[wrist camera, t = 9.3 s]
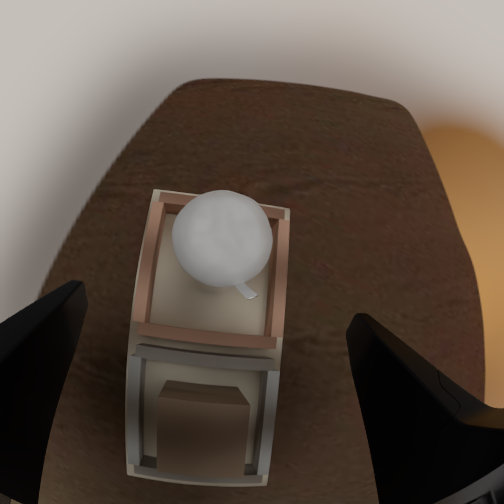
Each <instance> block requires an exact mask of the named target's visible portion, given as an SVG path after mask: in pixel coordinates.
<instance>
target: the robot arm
mask: <svg viewBox="0 0 504 504" xmlns="http://www.w3.org/2000/svg"><path fill="white" fill-rule="evenodd" d="M87 308H88V300H87V295H86V290H85V285H84V283H83V282H82V281H77V280H71V281H69V282H67V283H66V284H64V285H62V286H60V287H59V288H57V289H55V290H54V291H52V292H50V293H48V294H47V295H45V296H43V297H42V298H40V299H38V300H37V301H35V302H34V303H32V304H30V305H29V306H27V307H25V308H24V309H23V310H20V311H19V312H17V313H16V314H14V315H13V316H11V317H10V318H8V319H6V320H5V321H4V322H2V323H0V504H10V502H11V499H13V500H15V501H17V502H20V503H22V504H38V499H39V490H40V483H41V477H42V471H43V465H44V460H45V457H44V456H45V454H46V449H47V444H48V440H49V435H50V431H51V427H52V423H53V419H54V416H55V412H56V408H57V405H58V401H59V398H60V395H61V392H62V388H63V385H64V382H65V379H66V376H67V373H68V370H69V367H70V364H71V362H72V359H73V356H74V353H75V350H76V347H77V344H78V340H79V336H80V333H81V329H82V325H83V322H84V318H85V315H86V312H87ZM346 340H347V346H348V352H349V358H350V365H351V371H352V376H353V380H354V384H355V388H356V392H357V396H358V400H359V404H360V408H361V412H362V417H363V421H364V426H365V430H366V435H367V439H368V444H369V449H370V454H371V459H372V464H373V469H374V474H375V481H376V487H377V493H378V499H379V504H504V408H503V409H502V408H501V409H500V408H493V407H490V406H488V405H486V404H484V403H483V402H482V401H480V400H479V399H477V398H476V397H474V396H473V395H472V394H470V393H469V392H467V391H466V390H464V389H463V388H462V387H460V386H459V385H457V384H456V383H455V382H453V381H452V380H451V379H450V378H448V377H447V376H446V375H444V374H443V373H442V372H441V371H439V370H437V368H436V367H434V366H433V365H432V364H431V363H429V362H428V361H427V360H426V359H424V358H423V357H422V356H421V355H419V354H418V353H417V352H416V351H414V350H413V349H412V348H411V347H409V346H408V345H407V344H405V343H404V342H403V341H402V340H400V339H399V338H398V337H397V336H395V335H394V334H393V333H391V332H390V331H389V330H388V329H386V328H385V327H384V326H382V325H381V324H380V323H379V322H377V321H376V320H375V319H373V318H372V317H371V316H370V315H368V314H366V313H357V314H356V315H355V316H354V317H353V319H352V321H351V323H350V325H349V327H348V329H347V331H346Z"/></svg>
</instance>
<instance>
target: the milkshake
mask: <svg viewBox="0 0 504 504" xmlns="http://www.w3.org/2000/svg"><path fill="white" fill-rule="evenodd" d="M172 243H173V249H174V252H175V256H176V258H177V260H178V262H179V264H180V265H181V267H182V268H183V269H184V270H185V271H186V272H187V273H188V275H189V276H190V278H191V280H192V281H193V283H194V284H195V285H197V286H198V287H199V288H200V289H202V290H203V291H204V292H209V293H221V292H223V291H225V290H227V289H229V288H231V287H235V288H236V289H237V290H238V291H239V292H240V293H241V294H242V295H243V296H244V297H245V298H246V299H252V298H255V297H258V294H257V293H256V292H254V291H253V290H252V289H251V288H250V287H249V286H247V285H246V284H245V282H247V281H249V280H251V279H252V278H254V277H255V276H256V275H257V274H258V273H259V272H260V271H261V270H262V269H263V268H264V266H265V265H266V263H267V261H268V259H269V256H270V253H271V250H272V243H273V237H272V231H271V227H270V224H269V221H268V218H267V216H266V214H265V212H264V211H263V209H262V208H261V207H260V206H259V204H258V203H257V202H255V201H254V200H253V199H251V198H249V197H247V196H244V195H241V194H238V193H235V192H232V191H228V190H218V191H212V192H208V193H205V194H202V195H199V196H197V197H196V198H194V199H193V200H191V201H190V202H189V203H188V204H187V205H185V207H184V208H183V209H182V210H181V211H180V212H179V214H178V215H177V217H176V219H175V221H174V224H173V229H172Z"/></svg>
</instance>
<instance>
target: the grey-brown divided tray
mask: <svg viewBox="0 0 504 504" xmlns="http://www.w3.org/2000/svg"><path fill="white" fill-rule="evenodd" d="M197 196H199V195H197V194H189V193H181V192H173V191H164V190H156V189H154V191H153V195H152V199H151V204H150V208H149V213H148V217H147V222H146V227H145V232H144V237H143V242H142V247H141V253H140V258H139V264H138V270H137V276H136V283H135V290H134V297H133V305H132V313H131V322H130V332H129V342H128V355H127V371H126V394H125V441H126V463H127V475H131V476H136V477H141V478H146V479H152V480H158V481H165V482H172V483H181V484H191V485H204V486H231V487H243V486H267V480H268V474H269V466H270V459H271V451H272V442H273V434H274V425H275V416H276V407H277V397H278V387H279V377H280V363H281V351H282V339H283V329H284V316H285V301H286V285H287V268H288V249H289V226H290V209H288V208H282V207H276V206H270V205H264V204H259V206H260V207H261V208H262V209H263V211H264V212H265V214H266V216H267V218H268V221H269V224H270V227H271V231H272V237H273V243H272V250H271V253H270V256H269V259H268V261H267V263H266V265H265V266H264V268H263V269H262V270H261V271H260V272H259V273H258V274H257V275H256V276H255V277H254V278H252V279H251V280H249V281H247V282H245V284H246V285H247V286H249V287H250V288H251V289H252V290H253V291H254V292H256V293H257V294H258V297H255V298H252V299H246V298H245V297H244V296H243V295H242V294H241V293H240V292H239V291H238V290H237V289H236V288H235V287H231V288H229V289H227V290H225V291H223V292H221V293H209V292H204V291H203V290H202V289H200V288H199V287H198V286H197V285H195V284H194V283H193V281H192V280H191V278H190V276H189V275H188V273H187V272H186V271H185V270H184V269H183V268H182V267H181V265H180V264H179V262H178V260H177V258H176V256H175V252H174V249H173V243H172V229H173V224H174V221H175V219H176V217H177V215H178V214H179V212H180V211H181V210H182V209H183V208H184V207H185V205H187V204H188V203H189V202H190V201H191V200H193V199H194V198H196V197H197Z"/></svg>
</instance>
